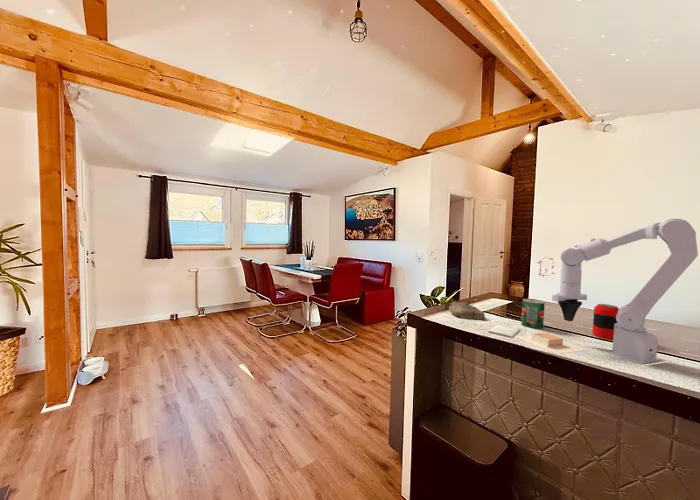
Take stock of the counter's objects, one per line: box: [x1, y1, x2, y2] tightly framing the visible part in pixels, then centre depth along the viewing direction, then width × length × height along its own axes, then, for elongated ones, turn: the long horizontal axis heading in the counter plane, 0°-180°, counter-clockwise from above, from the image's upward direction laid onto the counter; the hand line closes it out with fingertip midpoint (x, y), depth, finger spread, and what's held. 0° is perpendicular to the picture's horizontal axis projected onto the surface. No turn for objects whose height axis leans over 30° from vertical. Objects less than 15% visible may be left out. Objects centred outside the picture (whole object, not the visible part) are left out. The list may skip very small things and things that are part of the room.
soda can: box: [592, 303, 620, 341], centre depth 110 cm, size 8×8×12 cm
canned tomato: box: [520, 298, 546, 330], centre depth 120 cm, size 8×8×11 cm
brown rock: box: [448, 301, 486, 320], centre depth 138 cm, size 14×5×20 cm
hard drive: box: [487, 324, 521, 339], centre depth 111 cm, size 2×8×12 cm
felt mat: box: [514, 334, 589, 355], centre depth 100 cm, size 16×14×1 cm
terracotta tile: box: [530, 332, 564, 347], centre depth 99 cm, size 6×2×7 cm
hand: (568, 320), depth 102 cm, fingers closed
